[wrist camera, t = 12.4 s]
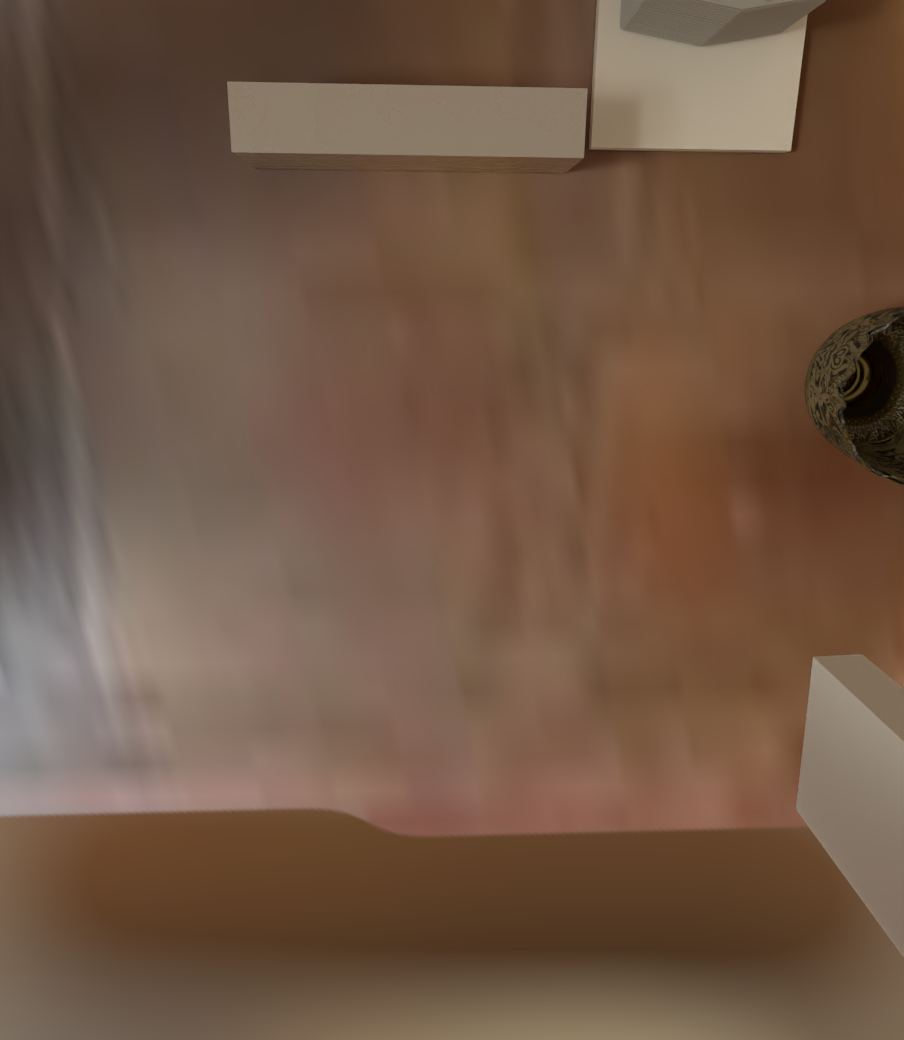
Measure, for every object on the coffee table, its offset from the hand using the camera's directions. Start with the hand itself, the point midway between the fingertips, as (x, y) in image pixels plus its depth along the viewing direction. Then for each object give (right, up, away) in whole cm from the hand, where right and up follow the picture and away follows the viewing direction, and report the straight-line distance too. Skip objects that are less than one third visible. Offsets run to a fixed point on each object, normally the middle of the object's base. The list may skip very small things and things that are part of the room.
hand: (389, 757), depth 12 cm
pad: (+12, +26, +22) cm, 36 cm away
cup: (+20, +11, +27) cm, 35 cm away
